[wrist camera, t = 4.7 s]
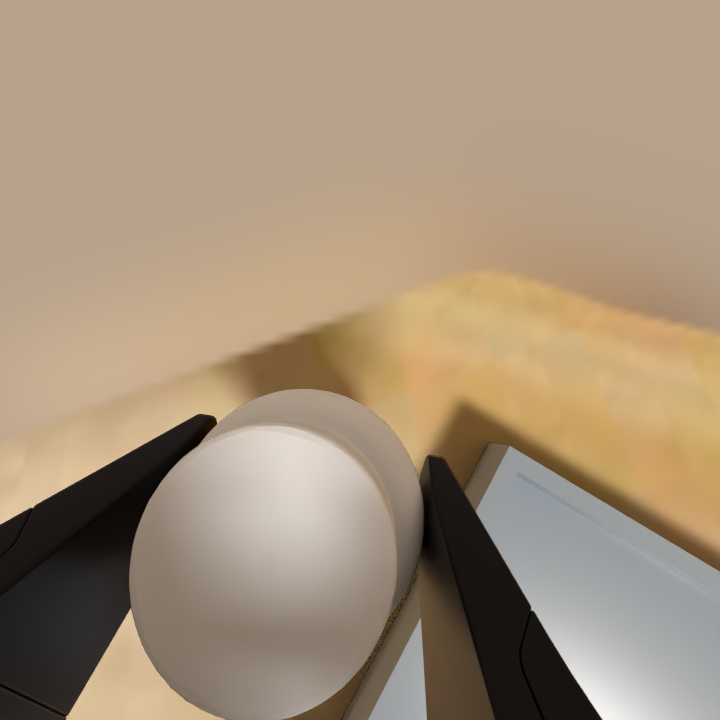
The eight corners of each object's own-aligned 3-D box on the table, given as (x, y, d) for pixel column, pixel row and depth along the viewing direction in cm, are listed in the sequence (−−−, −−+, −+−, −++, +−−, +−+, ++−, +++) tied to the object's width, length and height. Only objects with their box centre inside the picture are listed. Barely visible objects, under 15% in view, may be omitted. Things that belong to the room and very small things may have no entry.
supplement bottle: (250, 472, 15) (-10, 575, 5) (331, 382, 15) (259, 301, 5) (339, 561, 14) (259, 931, 4) (420, 461, 14) (537, 544, 4)
